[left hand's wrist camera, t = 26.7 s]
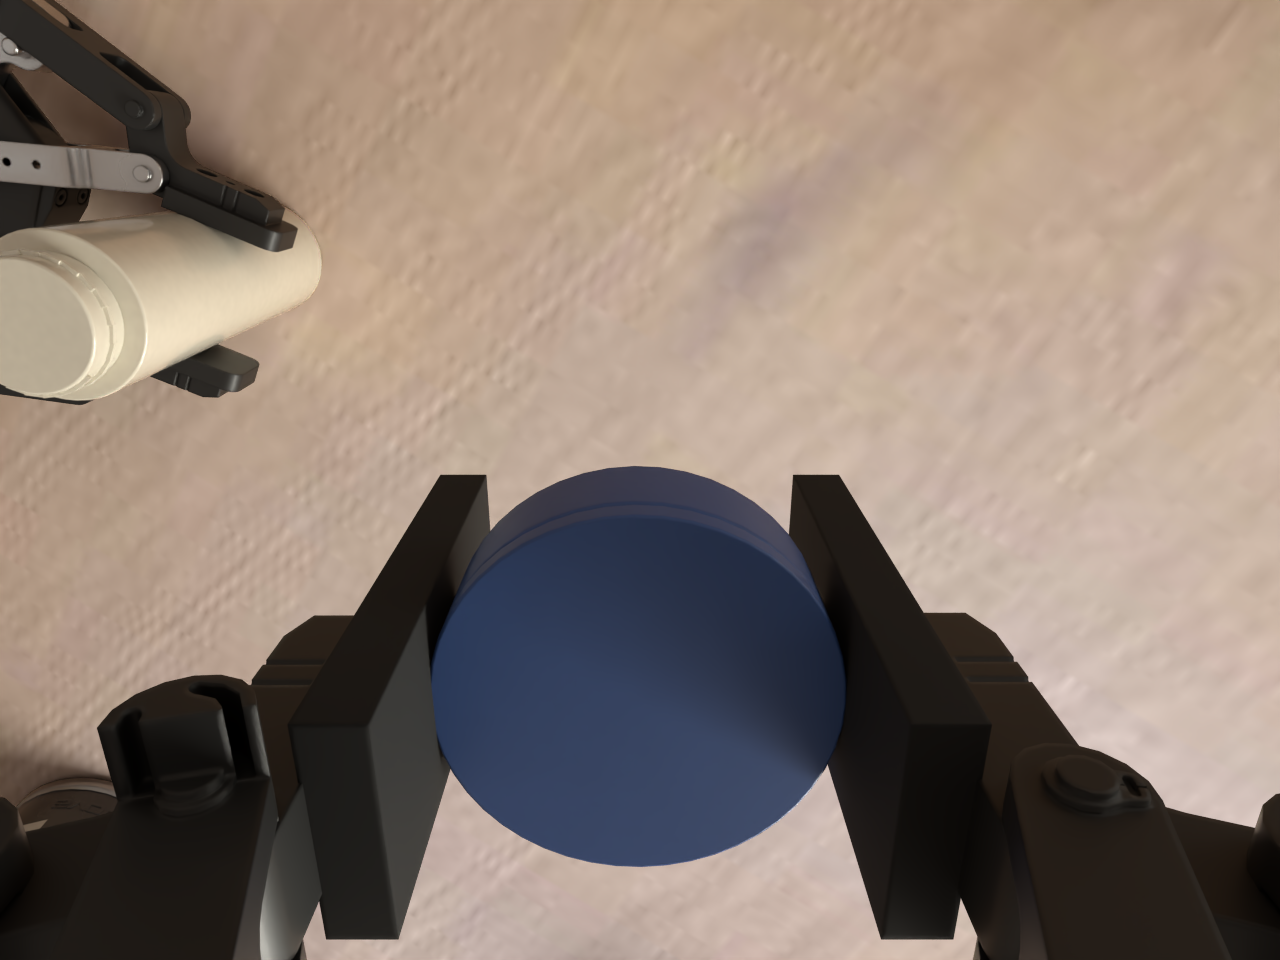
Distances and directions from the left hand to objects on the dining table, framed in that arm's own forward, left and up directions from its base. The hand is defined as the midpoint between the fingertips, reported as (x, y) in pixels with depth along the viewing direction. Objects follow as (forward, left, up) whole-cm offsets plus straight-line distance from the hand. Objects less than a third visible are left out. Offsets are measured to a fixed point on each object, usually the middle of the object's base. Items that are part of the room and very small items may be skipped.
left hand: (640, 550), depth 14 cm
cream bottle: (+12, -10, -24) cm, 29 cm away
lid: (0, 0, +4) cm, 4 cm away
